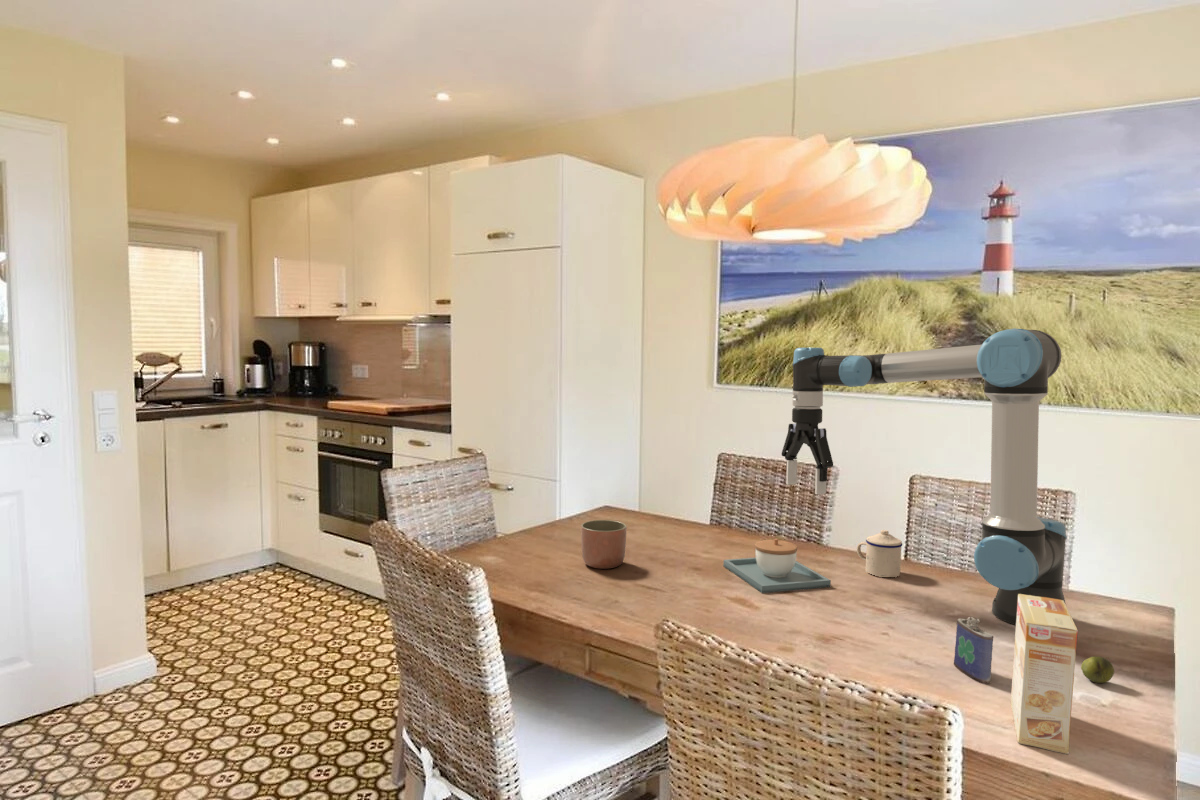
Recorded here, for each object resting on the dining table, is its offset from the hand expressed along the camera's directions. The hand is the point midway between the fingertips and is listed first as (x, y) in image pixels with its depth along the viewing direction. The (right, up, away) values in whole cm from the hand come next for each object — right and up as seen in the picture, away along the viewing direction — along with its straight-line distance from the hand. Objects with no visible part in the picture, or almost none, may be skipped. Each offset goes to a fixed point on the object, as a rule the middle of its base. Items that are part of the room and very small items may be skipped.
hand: (805, 489), depth 194 cm
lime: (+38, -29, -57) cm, 74 cm away
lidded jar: (-7, -23, +2) cm, 24 cm away
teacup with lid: (+21, -23, +7) cm, 32 cm away
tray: (-8, -23, +2) cm, 24 cm away
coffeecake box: (+18, -30, -73) cm, 81 cm away
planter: (-52, -22, +10) cm, 58 cm away
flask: (+16, -28, -54) cm, 63 cm away
